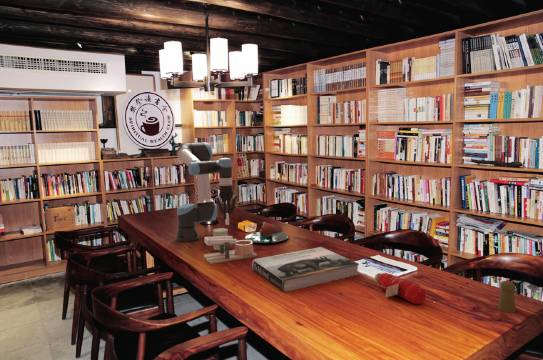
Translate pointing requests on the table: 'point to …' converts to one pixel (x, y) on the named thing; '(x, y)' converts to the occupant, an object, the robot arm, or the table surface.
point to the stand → (225, 255)
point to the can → (219, 233)
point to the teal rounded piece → (267, 234)
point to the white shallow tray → (219, 240)
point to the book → (304, 268)
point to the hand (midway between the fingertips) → (227, 224)
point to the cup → (243, 247)
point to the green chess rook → (507, 297)
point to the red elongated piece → (400, 288)
